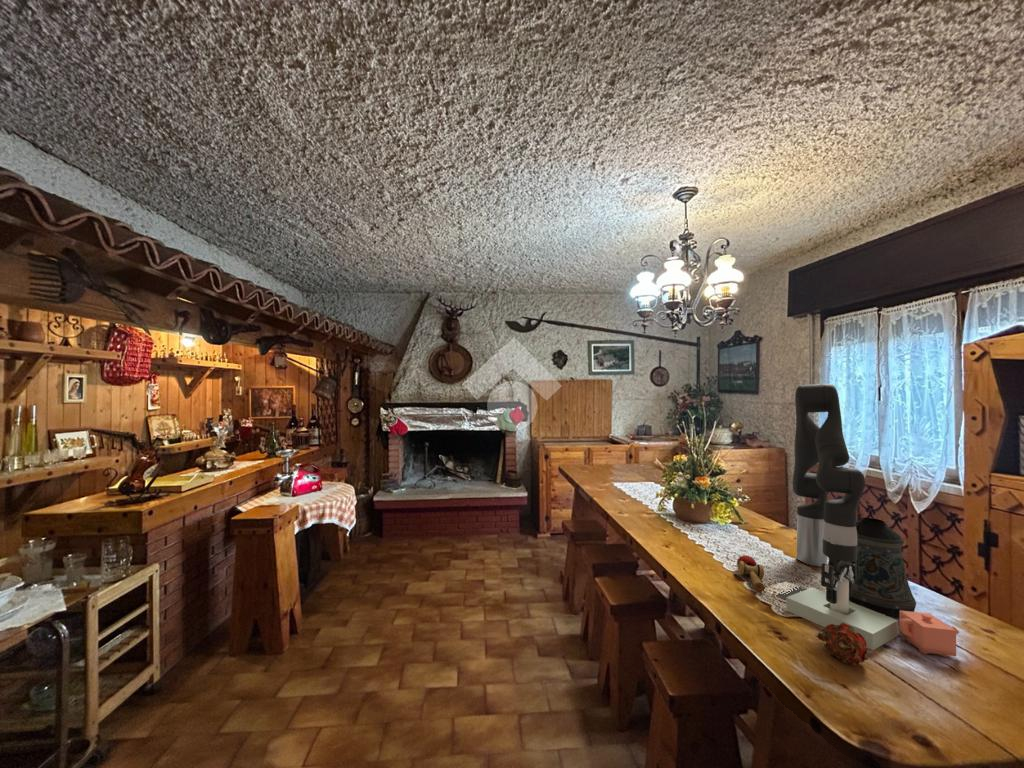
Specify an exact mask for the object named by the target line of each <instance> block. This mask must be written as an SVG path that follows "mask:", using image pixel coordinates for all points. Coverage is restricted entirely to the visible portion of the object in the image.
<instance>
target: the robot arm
mask: <svg viewBox="0 0 1024 768" xmlns="http://www.w3.org/2000/svg"><path fill="white" fill-rule="evenodd" d="M794 395H795V396H794V397H795V398H794V399H795V417H796V418H795V420H796V421H795V422H796V424H795V436H794V468H793V475H792V491H793V493H794V494H795V495H796V496H799V497H803V498H808V499H809V498H811V499H816V500H815V501H813V502H811V503H806V504H800V505H798V506H797V508H796V560H797V559H798V560H800V561H802V562H804V563H803V564H805V563H806V564H805V565H808V564H809V566H811V567H812V566H814V567H820V568H821V572H820V573H821V575H820V576H821V577H820V585H821V587H825V589H826V590H825V592H826V600H827V601H828V602H830V603H833V604H836V603H837V587H838V584H839V583H841V582H842V579H843V578H846V579H848V580H849V597H851V596H852V583H854V579H855V580H857V529H856V522H857V510H858V506H859V503H860V500H861V497H862V495H863V492H864V489H865V486H866V478H865V475H864V474H863V473H862V471H861V470H860V469H858V468H853V467H843V466H845V465H846V464H848V463H849V461H850V455H849V451H848V448H847V444H846V441H845V437H844V432H843V422H842V413H841V406H840V405H841V404H840V398H839V394H838V390H837V388H836V386H835V385H833V384H832V383H816V384H815V383H814V384H801V385H798V386H797V388H796V390H795V394H794ZM809 413H827V417H826V419H825V421H824V422H823V423H822V425H821V426H820V427H819V426H818V425H817V424H816V423H815V421H813V419H812V418H811V417H810V415H809ZM816 465H818V466H817V471H816V473H814V472H808V471H809V470H810V469H812V468H813V467H815V466H816ZM828 493H838V494H844V496H842V497H841V498H839V499H829V500H828V496H829V495H828ZM798 560H797V561H798ZM800 561H799V562H800ZM802 562H801V563H802ZM852 571H853V572H852ZM835 577H836V578H835ZM834 581H835V582H834Z"/></svg>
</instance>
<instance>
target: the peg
mask: <svg viewBox="0 0 1024 768" xmlns="http://www.w3.org/2000/svg"><path fill="white" fill-rule="evenodd" d="M835 578H836V577H835ZM834 582H835V581H834ZM849 602H850V600H849V580H848V579H846V578H843V579H842V582H841V583H839V584H838V587H837V603H836V604H833V603H830V609H832V610H834V611H837V612H839V613H842V614H844V615H848V614H849Z"/></svg>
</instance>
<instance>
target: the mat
mask: <svg viewBox="0 0 1024 768" xmlns="http://www.w3.org/2000/svg"><path fill="white" fill-rule="evenodd" d="M799 586H800V585H799ZM801 587H802V586H800V587H799V589H798V588H797V587H795V588H796V589H797V590H795V589H794V588H793V591H792V590H791V589H790V590H791V592H790V591H788V592H790V593H788V592H786V593H788V594H786V593H784V594H785V595H784V594H780V593H779V594H778V595H776V596H775V597H777V598H780V599H782V600H784V601H786V597H788V596H791V595H794V594H796V593H799V592H800V591H804V590H807V589H808V588H805V587H804V588H805V589H802V588H801ZM783 592H784V591H783ZM781 593H782V592H781Z"/></svg>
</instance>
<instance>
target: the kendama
mask: <svg viewBox="0 0 1024 768" xmlns="http://www.w3.org/2000/svg"><path fill="white" fill-rule="evenodd" d="M736 564H737V573H738V575H740V576H744V575H749V577H750V579H751V582H752V585H753V588H754V590H755V591H757V592H759V593H761V592H765V591H764V589H765V587H766V586H765V584H764V583H763V582H762V580H763V579H764V575H765V570H764V569H765V568H764V566H763V564H757V562H756V560H755V559H754V558H753V557H752V556H751V555H750V556H749V555H744V554H743V555H741V556H739V557H738V559H737V561H736Z"/></svg>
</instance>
